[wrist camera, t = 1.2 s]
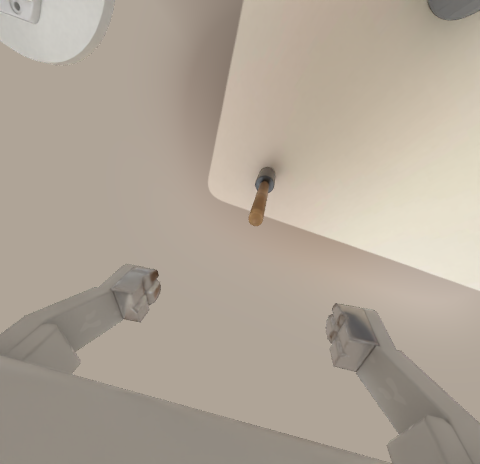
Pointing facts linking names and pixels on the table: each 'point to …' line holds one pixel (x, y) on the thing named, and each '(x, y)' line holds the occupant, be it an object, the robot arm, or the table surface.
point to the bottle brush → (261, 195)
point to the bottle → (454, 8)
